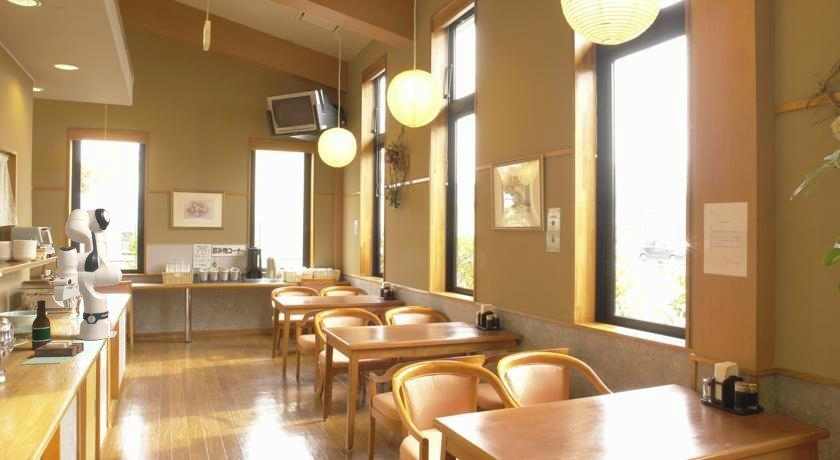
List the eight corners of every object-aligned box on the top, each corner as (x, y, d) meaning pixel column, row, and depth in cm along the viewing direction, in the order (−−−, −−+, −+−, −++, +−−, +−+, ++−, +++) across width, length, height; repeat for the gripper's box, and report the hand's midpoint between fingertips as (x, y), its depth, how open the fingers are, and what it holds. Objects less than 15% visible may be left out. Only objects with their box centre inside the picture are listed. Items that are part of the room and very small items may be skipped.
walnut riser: (48, 351, 287) (48, 343, 287) (83, 350, 290) (83, 342, 290) (34, 358, 274) (34, 349, 274) (72, 357, 276) (72, 348, 276)
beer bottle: (54, 347, 297) (54, 299, 297) (42, 350, 289) (42, 301, 289) (39, 347, 298) (39, 299, 297) (28, 350, 290) (28, 301, 290)
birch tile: (53, 344, 284) (53, 340, 284) (71, 344, 286) (71, 340, 286) (45, 348, 276) (45, 344, 276) (64, 347, 278) (64, 343, 278)
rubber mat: (34, 358, 273) (34, 357, 273) (71, 357, 276) (71, 356, 276) (21, 364, 261) (21, 363, 261) (60, 363, 264) (60, 362, 264)
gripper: (69, 277, 300) (69, 305, 300) (51, 281, 279) (51, 311, 280) (82, 277, 301) (82, 304, 301) (65, 281, 280) (65, 310, 281)
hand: (67, 308), depth 290 cm, fingers closed
